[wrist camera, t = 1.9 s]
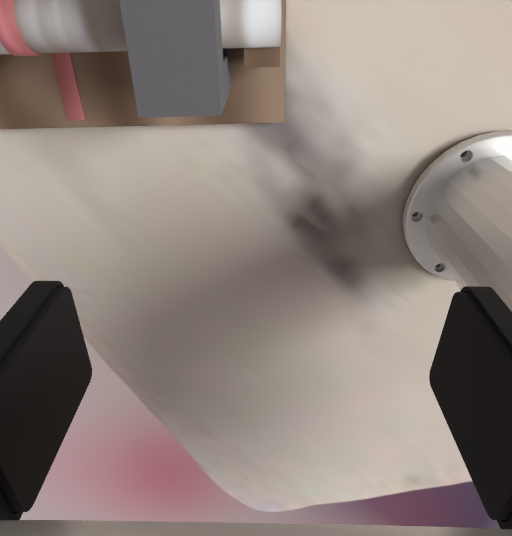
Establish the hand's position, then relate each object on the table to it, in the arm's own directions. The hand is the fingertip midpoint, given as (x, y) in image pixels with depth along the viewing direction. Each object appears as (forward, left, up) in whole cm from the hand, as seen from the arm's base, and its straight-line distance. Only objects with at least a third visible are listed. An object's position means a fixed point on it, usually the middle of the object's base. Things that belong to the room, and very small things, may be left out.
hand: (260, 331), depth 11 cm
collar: (+4, -7, -22) cm, 23 cm away
